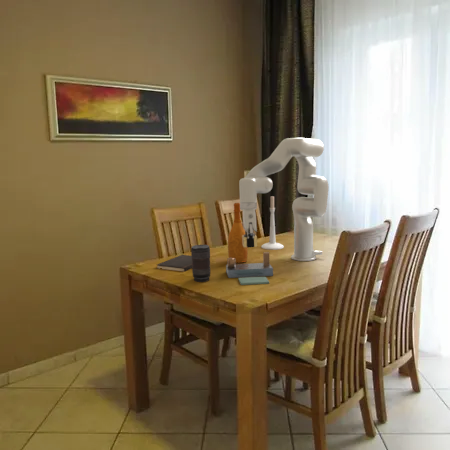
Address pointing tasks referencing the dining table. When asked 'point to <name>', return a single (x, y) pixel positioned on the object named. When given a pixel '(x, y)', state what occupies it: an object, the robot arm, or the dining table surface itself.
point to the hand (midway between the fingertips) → (249, 245)
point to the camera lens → (200, 262)
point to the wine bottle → (237, 238)
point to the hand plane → (249, 268)
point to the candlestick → (272, 231)
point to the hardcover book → (177, 263)
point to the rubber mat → (253, 280)
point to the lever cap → (244, 240)
